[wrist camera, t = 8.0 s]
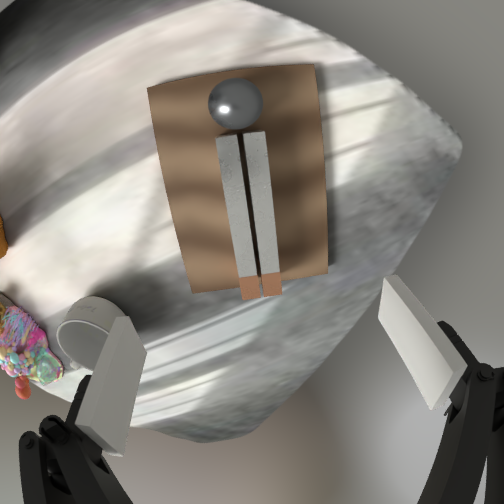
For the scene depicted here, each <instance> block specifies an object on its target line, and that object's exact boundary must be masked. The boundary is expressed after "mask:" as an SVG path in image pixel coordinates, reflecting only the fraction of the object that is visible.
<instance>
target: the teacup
mask: <svg viewBox="0 0 504 504" xmlns="http://www.w3.org/2000/svg"><path fill="white" fill-rule="evenodd" d="M122 316H125V314H124V313H123V312H122V310H121V309H120V308H119V307H117V306H116V305H115V304H114V303H112V302H110V301H108V300H106V299H104V298H100V297H95V296H90V297H84V298H82V299H79V300H78V301H77V302H75V303H74V304H73V305H72V307H71V308H70V309H69V311H68V313H67V314H66V316H65V318H64V319H63V321H62V323H61V324H60V325H59V327H58V329H57V340H58V343H59V345H60V347H61V349H62V350H63V352H64V353H65V354H66V355H67V356H68V357H69V358H70V359H72V360H71V362H70V366H71V367H72V368H74V369H76V370H78V369H79V368H80V366H82V367H84V368H86V369H88V370H91V371H94V369H95V366H96V364H97V361H98V359H99V356H100V354H101V351H102V349H103V346H104V344H105V342H106V339H107V337H108V335H109V332H110V330H111V328H112V326H113V323H114V321H115V319H116V317H122Z"/></svg>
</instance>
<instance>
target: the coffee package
mask: <svg viewBox="0 0 504 504" xmlns="http://www.w3.org/2000/svg"><path fill="white" fill-rule="evenodd" d="M2 224H3V221H2V218H1V216H0V259H1V258H2V257H4V256H5V255H6V252H7V250H8V243H7V241H6V239H5V232H4V229H3V226H2Z"/></svg>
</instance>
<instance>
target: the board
mask: <svg viewBox="0 0 504 504" xmlns="http://www.w3.org/2000/svg"><path fill="white" fill-rule="evenodd" d="M230 78H242V79H246V80H248V81H250V82H252V83H253V84H254V85H255V86H256V87H257V88H258V89H259V90H260V92H261V94H262V98H263V109H262V112H261V114H260V116H259V118H258V119H257V120H256V121H255V122H254V123H253V124H251V125H250V126H248V127H246V128H243V129H228V128H225V127H222V126H221V125H219V124H218V123H216V122H215V121H214V120H213V118H212V117H211V115H210V113H209V109H208V99H209V95H210V93H211V91H212V90H213V88H214V87H215V86H216V85H217V84H219V83H220V82H222V81H224V80H226V79H230ZM147 92H148V98H149V104H150V111H151V117H152V122H153V128H154V134H155V139H156V144H157V150H158V155H159V160H160V165H161V169H162V174H163V179H164V183H165V188H166V193H167V197H168V201H169V206H170V210H171V214H172V218H173V222H174V226H175V231H176V234H177V238H178V242H179V246H180V250H181V254H182V258H183V261H184V265H185V269H186V272H187V276H188V279H189V283H190V286H191V290H192V293H201V292H208V291H216V290H223V289H230V288H237V287H240V283H239V276H238V269H237V264H236V258H235V253H234V247H233V241H232V236H231V230H230V224H229V218H228V213H227V207H226V201H225V195H224V189H223V183H222V177H221V171H220V165H219V159H218V153H217V147H216V140H215V138H216V137H217V136H219V135H225V134H231V133H236V134H237V140H238V146H239V153H240V160H241V167H242V174H243V181H244V188H245V195H246V201H247V208H248V215H249V222H250V229H251V236H252V243H253V250H254V257H255V262H256V268H257V274H258V281H259V284H262V282H261V276H260V268H259V261H258V250H257V242H256V234H255V227H254V219H253V212H252V204H251V197H250V189H249V182H248V174H247V167H246V159H245V152H244V145H243V137H242V132H245V131H253V130H263V131H265V137H266V145H267V154H268V162H269V171H270V180H271V189H272V198H273V208H274V217H275V227H276V237H277V248H278V259H279V269H280V275H281V281H285V280H291V279H297V278H303V277H310V276H316V275H322V274H328V228H327V199H326V179H325V164H324V150H323V138H322V127H321V117H320V108H319V99H318V91H317V83H316V76H315V68H314V64H305V65H281V66H267V67H256V68H247V69H238V70H231V71H224V72H217V73H211V74H206V75H200V76H195V77H190V78H185V79H181V80H176V81H172V82H168V83H164V84H160V85H156V86H152V87H148V88H147Z"/></svg>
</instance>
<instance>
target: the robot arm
mask: <svg viewBox="0 0 504 504" xmlns="http://www.w3.org/2000/svg"><path fill="white" fill-rule="evenodd" d="M378 319H379V321H380V322H381V324H382V325H383V327H384V329H385V330H386V332H387V334H388V335H389V337H390V339H391V340H392V342H393V344H394V345H395V347H396V349H397V350H398V352H399V354H400V356H401V357H402V359H403V361H404V363H405V364H406V366H407V368H408V370H409V372H410V373H411V375H412V376H413V379H414V381H415V382H416V384H417V386H418V388H419V390H420V392H421V394H422V395H423V397H424V399H425V401H426V403H427V405H428V407H429V409H430V411H432V410H434V409H436V408H438V407H440V406H442V405H444V404H445V402H446V401H447V400H448V398H450V399H451V401H452V403H451V405H450V406H449V407H448V409H447V410H446V412H445V414H444V416H446V415H447V413H448V417H447V421H446V424H445V428H444V432H443V435H442V439H441V443H440V446H439V449H438V452H437V455H436V458H435V461H434V464H433V467H432V469H431V472H430V474H429V477H428V480H427V482H426V485H425V487H424V489H423V492H422V494H421V496H420V499H419V501H418V503H417V504H473V503H474V500H475V497H476V494H477V491H478V487H479V484H480V481H481V477H482V473H483V470H484V466H485V461H486V457H487V476H486V491H485V501H484V504H504V367H501V368H495V369H494V368H492V367H491V366H490V365H488V364H485V363H479V362H478V361H477V359H476V358H475V356H474V355H473V354H472V352H471V351H470V350H469V348H468V347H467V346H466V344H465V343H464V342H463V341H462V339H461V338H460V337H459V335H457V333H456V331H455V330H454V329H453V328H452V326H450V325H449V324H447V323H446V322H444V321H440V322H438V323H436V322H435V320H434V319H433V318H432V317H431V316H430V314H429V313H428V312H427V310H426V309H425V308H424V307H423V305H422V304H421V303H420V302H419V301H418V299H417V298H416V297H415V296H414V294H413V293H412V292H411V291H410V290H409V289H408V287H407V286H406V285H405V284H404V283H403V281H402V280H401V279H400V278H399V277H398V276H397V275H392V276H388V277H384V282H383V289H382V297H381V303H380V309H379V315H378ZM146 355H147V352H146V350H145V348H144V346H143V344H142V342H141V340H140V338H139V336H138V334H137V332H136V330H135V328H134V326H133V324H132V322H131V320H130V317H129V316H122V317H116V319H115V321H114V323H113V326H112V328H111V330H110V332H109V335H108V337H107V339H106V342H105V344H104V346H103V349H102V351H101V354H100V356H99V359H98V361H97V364H96V366H95V369H94V371H93V374H92V375H86V376H85V377H84V378H83V379H82V381H81V382H80V383H79V386H78V389H77V391H76V392H77V393H76V394H75V396H74V400H73V402H72V405H71V407H70V410H69V413H68V416H67V418H66V421H65V422H64V421H63V420H61V418H60V417H58V416H56V415H50V416H47V417H46V418H44V419H43V421H42V422H41V423H40V427H39V434H41V435H42V437H39V436H38V435H37V434H36V433H35V432H32V431H27V432H25V433H24V434H23V435H22V436H21V438H20V440H19V462H20V475H21V484H22V492H23V499H24V504H133V503H132V501H131V500H130V498H129V497H128V495H127V494H126V492H125V491H124V490H123V488H122V486H121V485H120V483H119V482H118V480H117V478H116V477H115V475H114V474H113V472H112V470H111V469H110V467H109V465H108V463H107V462H106V460H105V458H104V457H103V456H102V455H101V454H102V450H104V451H105V452H107V453H108V454H109V455H115V456H122V457H123V456H124V452H125V447H126V442H127V436H128V431H129V427H130V422H131V417H132V412H133V408H134V403H135V399H136V395H137V391H138V386H139V382H140V378H141V374H142V370H143V366H144V363H145V359H146Z"/></svg>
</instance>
